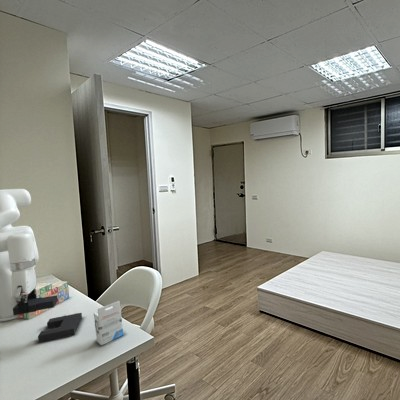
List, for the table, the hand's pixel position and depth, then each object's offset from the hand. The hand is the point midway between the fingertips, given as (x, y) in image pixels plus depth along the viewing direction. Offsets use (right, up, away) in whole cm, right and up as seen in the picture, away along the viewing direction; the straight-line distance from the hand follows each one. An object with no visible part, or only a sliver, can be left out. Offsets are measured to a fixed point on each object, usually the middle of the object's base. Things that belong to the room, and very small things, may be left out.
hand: (28, 307), depth 106 cm
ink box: (+33, -12, 0) cm, 35 cm away
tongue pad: (+3, -1, +1) cm, 3 cm away
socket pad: (+8, -12, +7) cm, 17 cm away
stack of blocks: (-15, -11, +28) cm, 34 cm away
